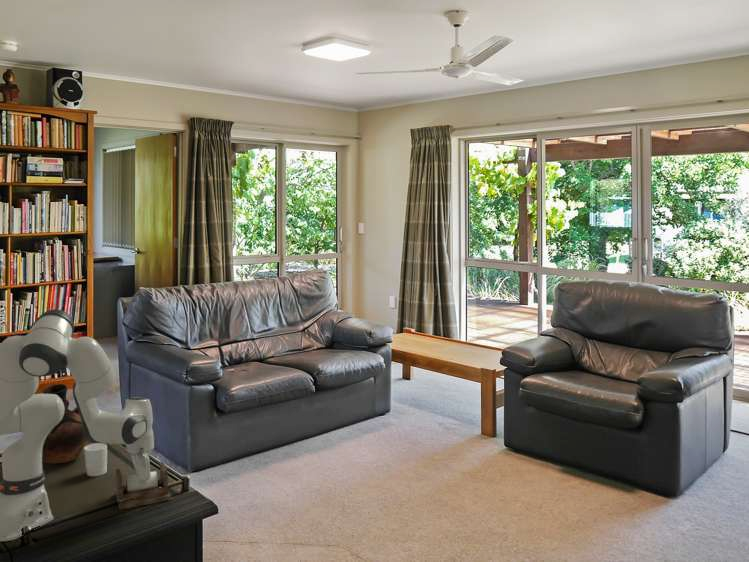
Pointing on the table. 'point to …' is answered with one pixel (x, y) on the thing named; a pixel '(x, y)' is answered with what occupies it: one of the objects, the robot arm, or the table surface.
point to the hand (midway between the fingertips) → (141, 484)
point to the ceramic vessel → (64, 432)
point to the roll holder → (143, 491)
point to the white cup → (96, 459)
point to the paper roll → (134, 482)
